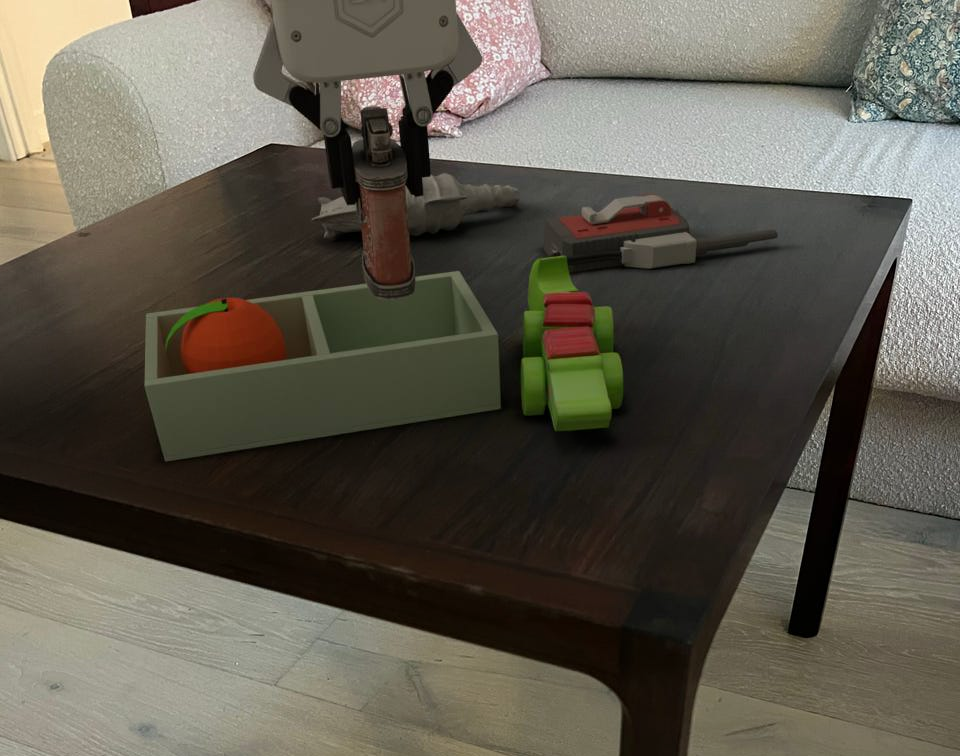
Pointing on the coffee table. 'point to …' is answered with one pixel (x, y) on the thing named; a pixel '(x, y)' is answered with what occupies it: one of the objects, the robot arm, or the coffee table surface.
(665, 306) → the coffee table surface
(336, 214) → the seahorse
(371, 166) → the lighter
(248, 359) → the clementine
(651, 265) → the walkie-talkie
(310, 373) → the tray
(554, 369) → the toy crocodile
